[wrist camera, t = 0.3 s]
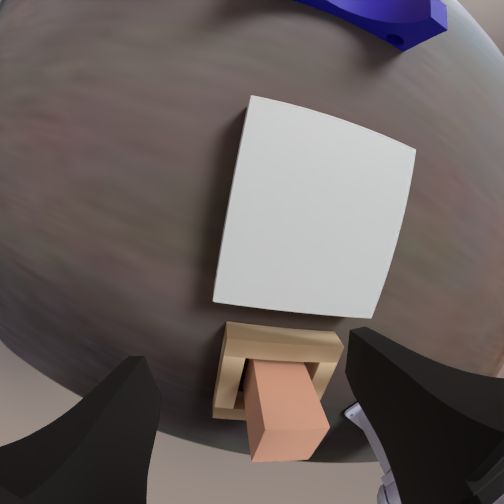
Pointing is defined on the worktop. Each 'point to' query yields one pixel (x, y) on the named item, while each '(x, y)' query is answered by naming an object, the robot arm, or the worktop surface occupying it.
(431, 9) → the cable clip
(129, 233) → the worktop surface
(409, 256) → the worktop surface
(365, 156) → the platform
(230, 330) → the socket
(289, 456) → the block
